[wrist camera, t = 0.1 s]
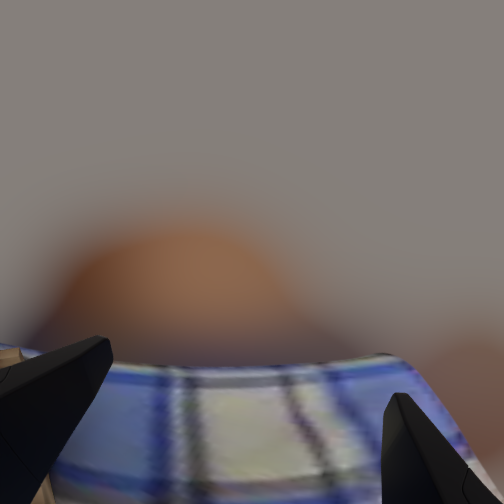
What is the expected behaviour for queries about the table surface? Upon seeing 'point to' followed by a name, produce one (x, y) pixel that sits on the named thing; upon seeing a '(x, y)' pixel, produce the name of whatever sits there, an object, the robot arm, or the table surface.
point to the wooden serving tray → (44, 496)
